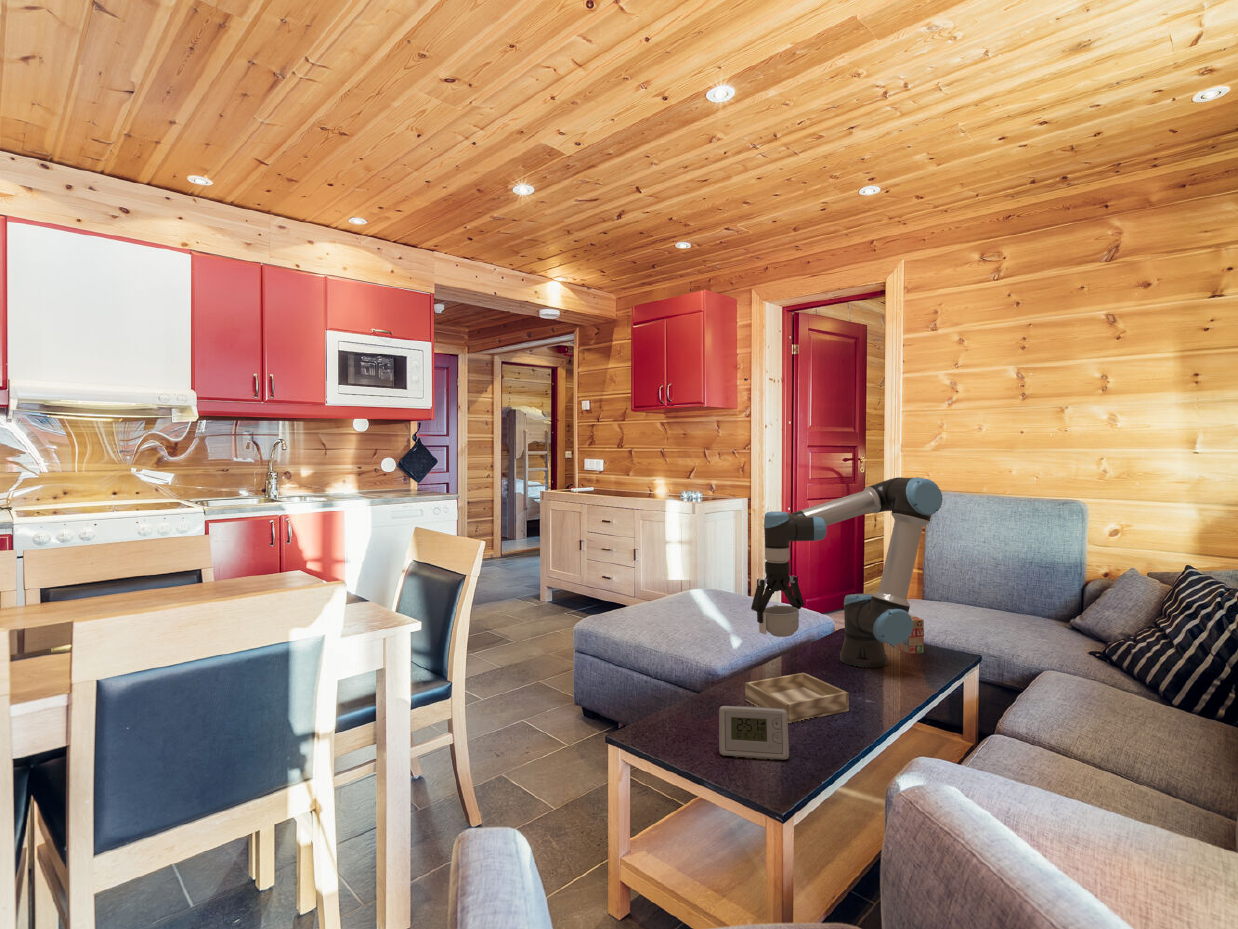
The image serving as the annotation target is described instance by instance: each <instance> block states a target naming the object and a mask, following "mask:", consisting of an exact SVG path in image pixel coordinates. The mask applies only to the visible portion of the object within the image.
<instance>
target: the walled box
mask: <svg viewBox="0 0 1238 929" xmlns="http://www.w3.org/2000/svg"><path fill="white" fill-rule="evenodd" d="M744 688H745V689H744V691H745V693H744V694H745V701H746V702H749V704H751V705H753V704H754V705H753V706H754V707H767V708H773V709H784V710H786V711H787V718H788V723H789V724H792V722H793V723H797V721H798V722H802V721H801V720H803V721H805V720H804V719H808V720H810V719H809V718H812V719H815V718H814V717H817V718H821V717H826V716H831V715H834V714H840V713H845V712H846V713H847V712H849V711H850V706H849V705H850V702H849V700H850V698H849V691H848V692H847V691H846V690H843V689H841V688H839V687H837V686H835V685H832V684H830V683H828V682H826V681H824V680H821V679H819V678H817V677H814V676H812V675H810V674H808V673H805V672H801V673H800V672H799V673H794V674H788V675H783V676H776V677H771V678H764V679H760V680H754V681H748V682H745V684H744Z"/></svg>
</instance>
